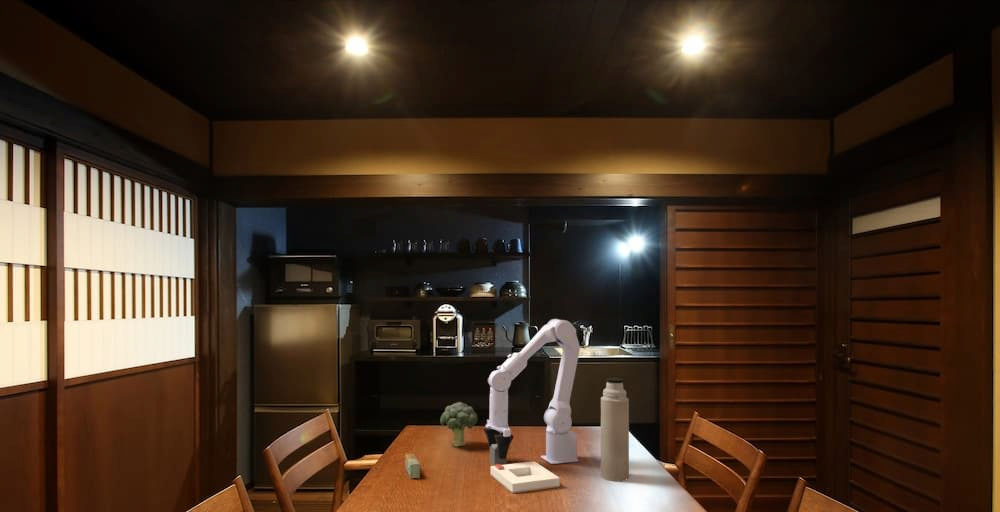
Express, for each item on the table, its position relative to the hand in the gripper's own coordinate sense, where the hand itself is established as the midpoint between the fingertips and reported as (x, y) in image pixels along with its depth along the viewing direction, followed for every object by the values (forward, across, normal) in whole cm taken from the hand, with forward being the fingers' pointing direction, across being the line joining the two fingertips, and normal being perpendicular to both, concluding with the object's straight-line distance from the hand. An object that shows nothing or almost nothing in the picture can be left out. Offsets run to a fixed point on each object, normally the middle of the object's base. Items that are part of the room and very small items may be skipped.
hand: (497, 454), depth 174 cm
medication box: (+3, -1, -26) cm, 27 cm away
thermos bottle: (+3, +23, +27) cm, 36 cm away
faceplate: (+3, +17, +1) cm, 17 cm away
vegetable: (+3, -23, -5) cm, 24 cm away
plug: (+3, 0, 0) cm, 3 cm away
